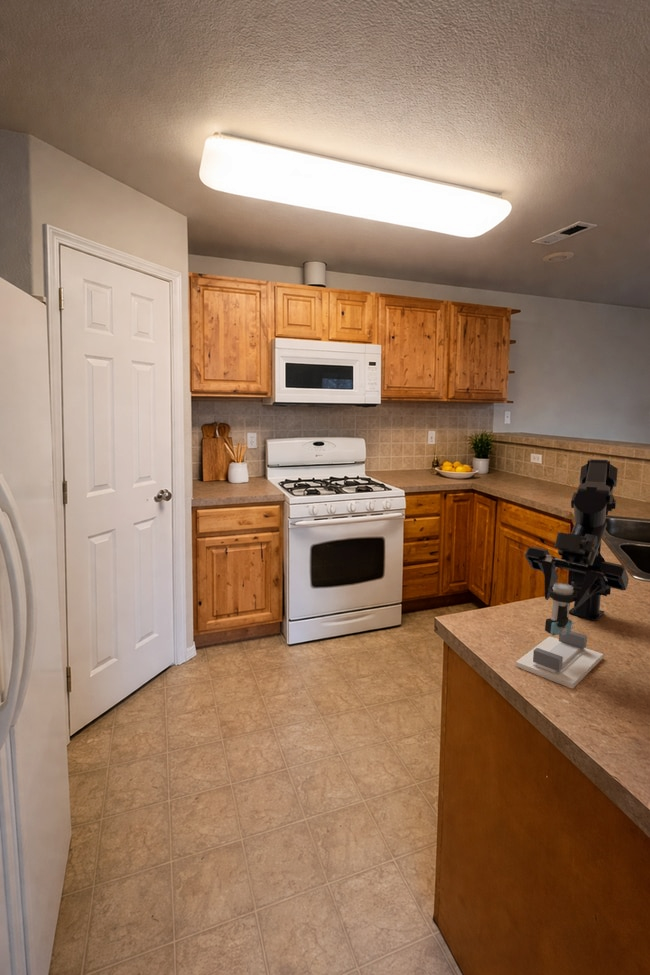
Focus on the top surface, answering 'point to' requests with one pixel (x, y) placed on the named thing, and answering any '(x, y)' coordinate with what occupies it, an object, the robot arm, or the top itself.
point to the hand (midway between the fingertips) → (560, 602)
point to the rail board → (561, 659)
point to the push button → (560, 609)
